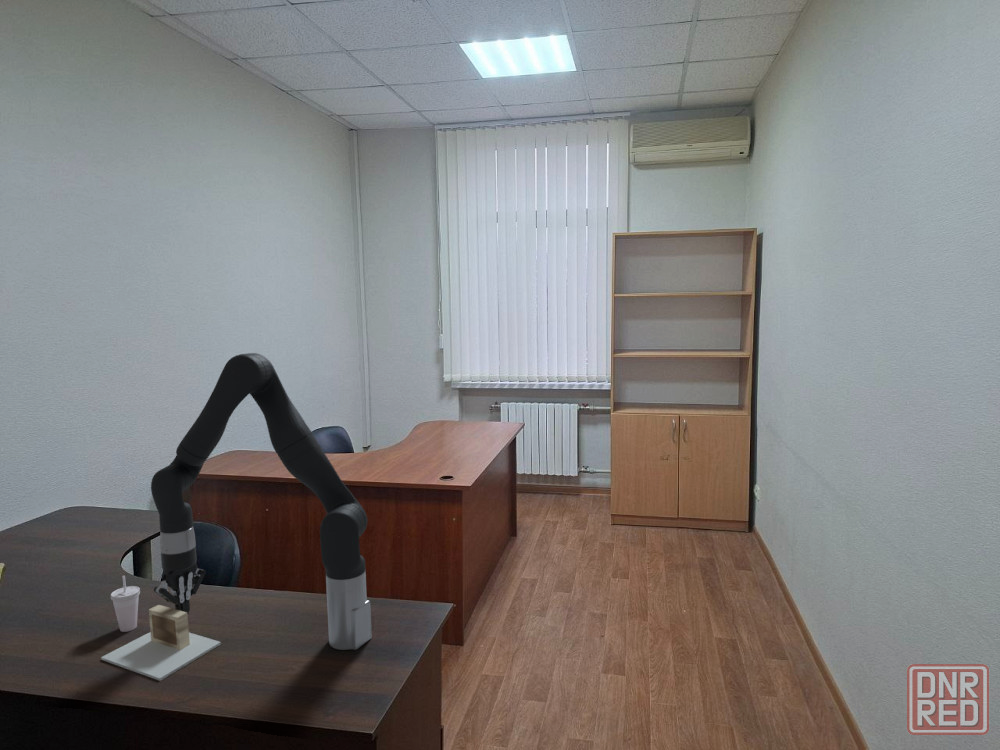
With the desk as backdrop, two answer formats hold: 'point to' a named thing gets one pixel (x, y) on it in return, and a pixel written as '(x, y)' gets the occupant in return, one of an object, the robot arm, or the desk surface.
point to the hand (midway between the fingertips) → (183, 615)
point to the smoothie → (126, 606)
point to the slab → (169, 627)
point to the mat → (158, 655)
